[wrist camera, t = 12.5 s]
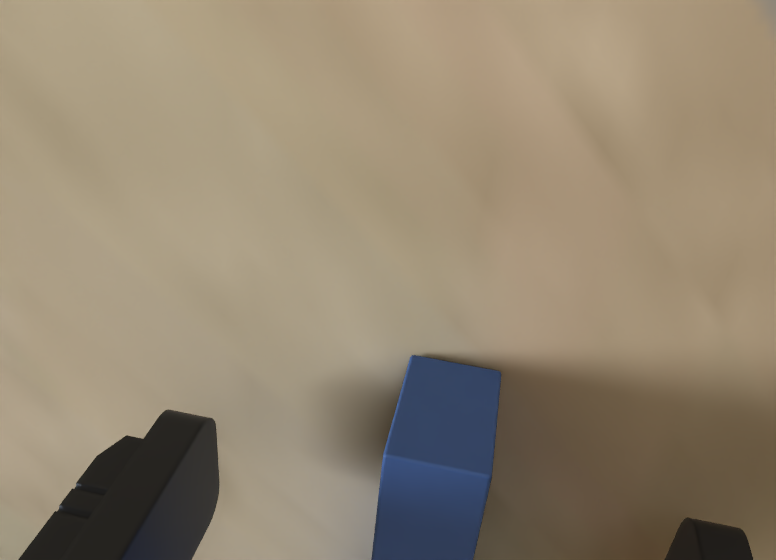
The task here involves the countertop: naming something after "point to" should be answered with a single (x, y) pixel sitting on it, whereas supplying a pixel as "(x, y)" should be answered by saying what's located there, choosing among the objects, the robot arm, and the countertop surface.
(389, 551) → the blue spoon
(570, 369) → the countertop surface
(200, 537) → the robot arm
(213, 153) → the countertop surface
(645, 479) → the countertop surface
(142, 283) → the countertop surface
